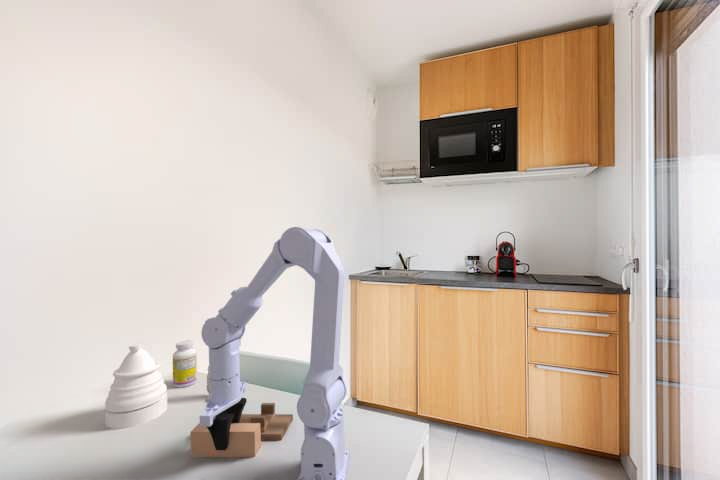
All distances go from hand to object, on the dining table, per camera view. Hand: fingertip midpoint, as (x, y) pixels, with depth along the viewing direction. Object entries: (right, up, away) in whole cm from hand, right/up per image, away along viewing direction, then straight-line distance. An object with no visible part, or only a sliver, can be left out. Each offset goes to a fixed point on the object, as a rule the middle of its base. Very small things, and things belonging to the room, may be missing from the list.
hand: (226, 443), depth 63 cm
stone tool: (-13, -3, +25) cm, 28 cm away
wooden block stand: (+1, -2, +8) cm, 8 cm away
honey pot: (-30, -4, +16) cm, 34 cm away
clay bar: (0, -2, 0) cm, 2 cm away
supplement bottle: (-28, -4, +34) cm, 44 cm away
